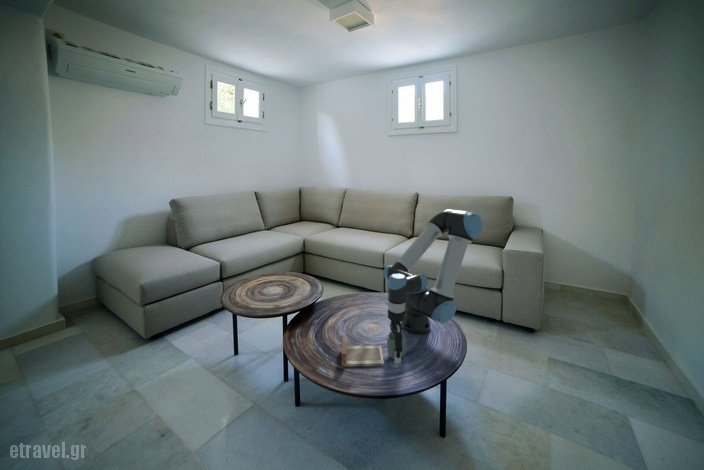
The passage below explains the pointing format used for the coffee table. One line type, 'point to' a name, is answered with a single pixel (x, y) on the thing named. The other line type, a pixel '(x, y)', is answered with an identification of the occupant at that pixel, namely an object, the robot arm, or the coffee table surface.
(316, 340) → the coffee table surface
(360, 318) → the coffee table surface
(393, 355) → the cup
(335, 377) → the coffee table surface
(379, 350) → the tray
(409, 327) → the robot arm
